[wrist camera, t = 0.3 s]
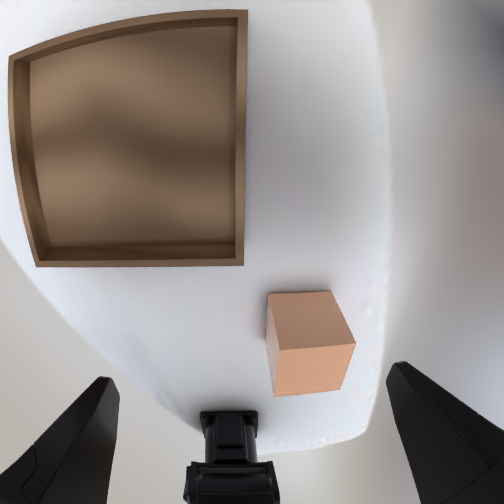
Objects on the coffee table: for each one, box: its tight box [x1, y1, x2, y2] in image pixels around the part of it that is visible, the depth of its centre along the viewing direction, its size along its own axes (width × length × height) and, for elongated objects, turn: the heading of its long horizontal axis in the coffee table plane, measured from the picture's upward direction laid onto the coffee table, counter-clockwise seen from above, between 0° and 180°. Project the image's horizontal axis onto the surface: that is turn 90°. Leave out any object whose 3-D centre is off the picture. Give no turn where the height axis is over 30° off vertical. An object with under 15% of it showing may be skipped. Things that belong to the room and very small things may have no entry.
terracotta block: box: [265, 291, 356, 397], centre depth 22 cm, size 5×5×6 cm
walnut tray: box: [8, 9, 248, 267], centre depth 16 cm, size 15×15×2 cm
